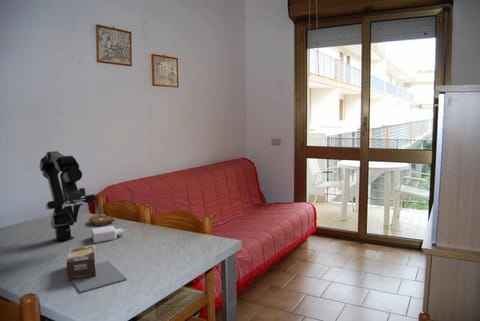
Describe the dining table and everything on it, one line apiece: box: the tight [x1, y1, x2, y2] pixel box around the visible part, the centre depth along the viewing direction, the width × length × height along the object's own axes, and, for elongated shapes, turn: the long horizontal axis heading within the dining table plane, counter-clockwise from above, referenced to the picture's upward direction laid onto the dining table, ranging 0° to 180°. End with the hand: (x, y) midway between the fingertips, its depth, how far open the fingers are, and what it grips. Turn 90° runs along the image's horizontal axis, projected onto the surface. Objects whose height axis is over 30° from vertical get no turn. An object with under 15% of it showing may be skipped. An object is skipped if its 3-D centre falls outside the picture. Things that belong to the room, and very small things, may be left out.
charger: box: [90, 225, 128, 244], centre depth 172 cm, size 5×9×15 cm
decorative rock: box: [88, 213, 115, 227], centre depth 197 cm, size 11×4×15 cm
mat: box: [65, 260, 128, 294], centre depth 130 cm, size 20×15×1 cm
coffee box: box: [66, 244, 97, 281], centre depth 134 cm, size 9×6×16 cm
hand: (75, 222), depth 155 cm, fingers closed
